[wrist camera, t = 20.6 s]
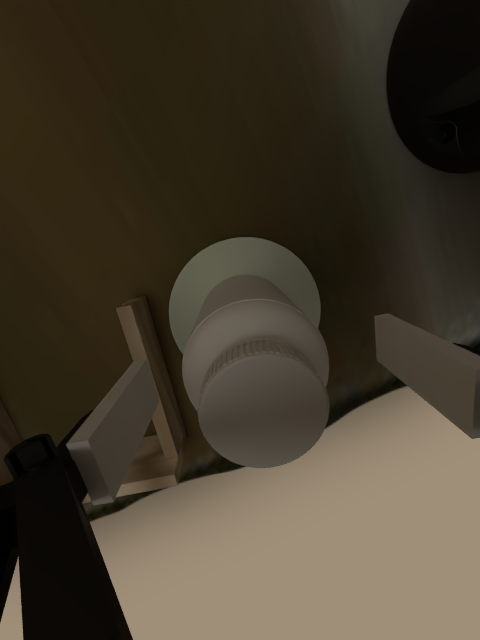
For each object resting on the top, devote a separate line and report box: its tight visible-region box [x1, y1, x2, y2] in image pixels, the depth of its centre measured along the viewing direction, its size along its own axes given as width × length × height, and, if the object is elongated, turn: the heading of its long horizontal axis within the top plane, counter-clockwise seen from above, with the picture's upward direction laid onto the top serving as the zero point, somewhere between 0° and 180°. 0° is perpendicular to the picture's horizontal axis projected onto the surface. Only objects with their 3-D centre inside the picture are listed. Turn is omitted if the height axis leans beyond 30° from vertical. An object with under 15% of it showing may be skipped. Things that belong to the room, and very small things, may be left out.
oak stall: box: [0, 296, 187, 503], centre depth 25 cm, size 18×16×6 cm
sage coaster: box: [169, 237, 321, 355], centre depth 26 cm, size 14×14×1 cm
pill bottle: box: [182, 275, 330, 468], centre depth 18 cm, size 8×8×15 cm
